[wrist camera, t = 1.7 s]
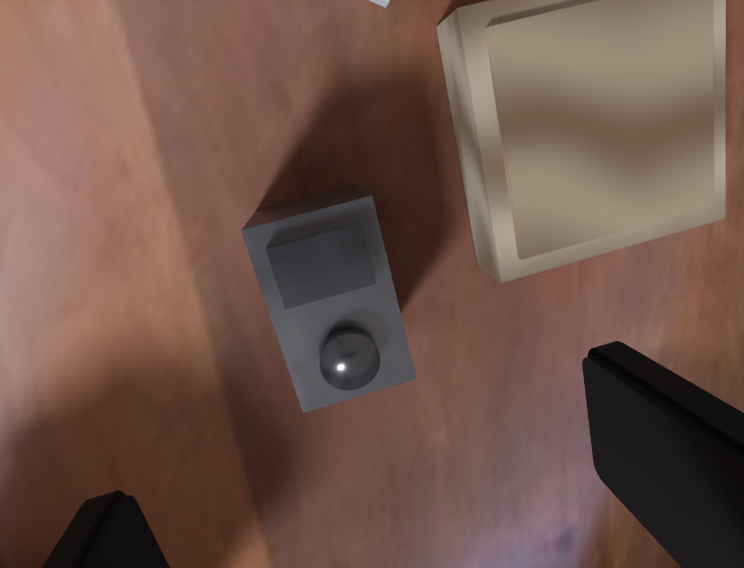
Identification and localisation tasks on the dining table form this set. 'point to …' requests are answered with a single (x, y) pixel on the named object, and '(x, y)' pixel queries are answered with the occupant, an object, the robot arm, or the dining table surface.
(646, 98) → the stand
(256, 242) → the housing
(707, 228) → the dining table surface
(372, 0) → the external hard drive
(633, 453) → the robot arm
